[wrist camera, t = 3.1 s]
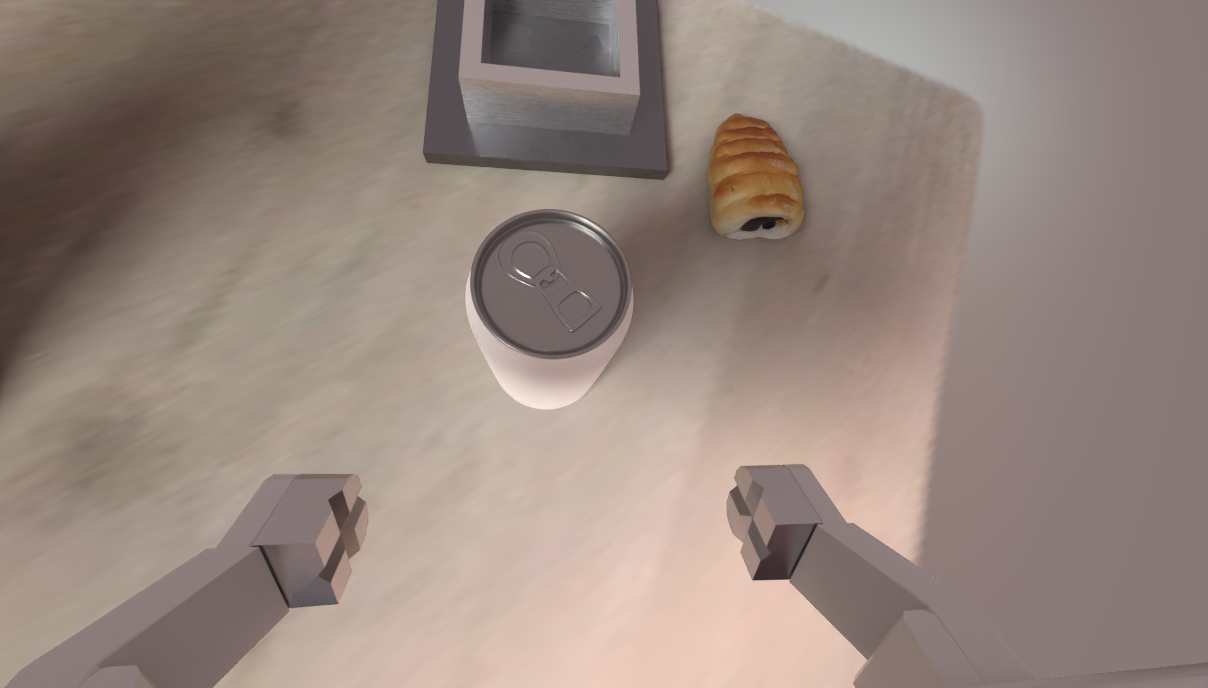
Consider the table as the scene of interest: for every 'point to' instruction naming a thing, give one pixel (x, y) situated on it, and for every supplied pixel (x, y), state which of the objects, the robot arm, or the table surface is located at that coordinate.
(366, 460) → the table surface
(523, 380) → the can
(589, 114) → the collar
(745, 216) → the pastry
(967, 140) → the table surface
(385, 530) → the table surface
